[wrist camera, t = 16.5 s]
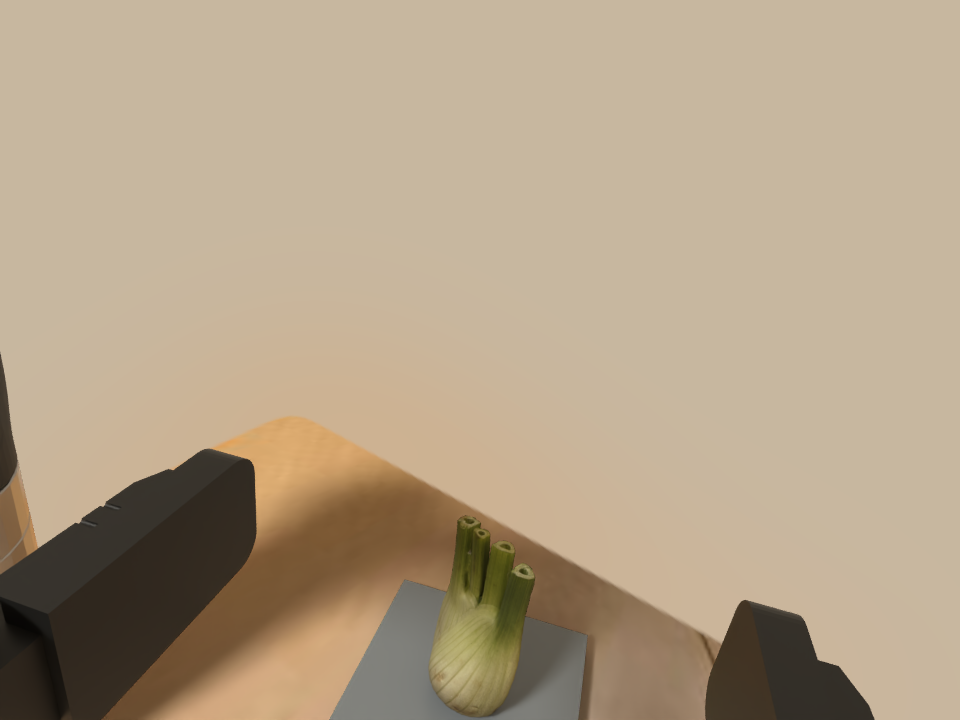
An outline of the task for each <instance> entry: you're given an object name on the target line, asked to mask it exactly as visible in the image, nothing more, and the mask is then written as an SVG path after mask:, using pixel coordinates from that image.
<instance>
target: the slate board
mask: <svg viewBox="0 0 960 720" xmlns="http://www.w3.org/2000/svg"><path fill="white" fill-rule="evenodd" d="M446 593H447V592H444V591H441V590H438V589H434V588H431V587H428V586H425V585H421V584H418V583H415V582H411V581H408V580H404V582H403V583H402V585H401V587H400V589H399V591H398V593H397V595H396V596H395V598H394V600H393V602H392V604H391V606H390V608H389V609H388V611H387V613H386V615H385V617H384V619H383V621H382V622H381V624H380V626H379V628H378V630H377V632H376V634H375V636H374V637H373V639H372V641H371V643H370V645H369V647H368V649H367V650H366V652H365V654H364V656H363V658H362V660H361V662H360V663H359V665H358V667H357V669H356V671H355V673H354V675H353V676H352V678H351V680H350V682H349V684H348V686H347V688H346V690H345V691H344V693H343V695H342V697H341V699H340V701H339V703H338V704H337V706H336V708H335V710H334V712H333V714H332V716H331V717H330V719H329V720H578V717H579V709H580V700H581V691H582V682H583V673H584V664H585V655H586V646H587V637H588V635H585V634H582V633H579V632H576V631H572V630H569V629H566V628H562V627H559V626H556V625H553V624H549V623H546V622H543V621H539V620H536V619H533V618H530V617H526V616H525V621H524V627H523V634H522V641H521V650H520V657H519V662H518V667H517V670H516V673H515V678H514V681H513V683H512V685H511V688H510V690H509V694H508V696H507V697H506V700H505V701H504V703H503V704H502V705H501V706H500V707H499V708H498V709H496V711H495V712H494V713H493V714H491V715H489V716H486V717H468V716H465V715H461V714H459V713H457V712H455V711H453V710H451V709H450V708H449V707H447V706H446V705H445V704H444V703H443V702H442V701H441V700H440V698H439V697H438V696H437V694H436V693H435V691H434V690H433V688H432V685H431V682H430V679H429V671H428V666H429V660H430V656H431V651H432V646H433V639H434V634H435V630H436V626H437V621H438V617H439V613H440V609H441V606H442V602H443V599H444V597H445V595H446Z"/></svg>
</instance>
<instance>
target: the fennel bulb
mask: <svg viewBox="0 0 960 720" xmlns="http://www.w3.org/2000/svg"><path fill="white" fill-rule="evenodd" d="M457 524H458V525H457V536H456V548H455V557H454V564H453V569H452V576H451V581H450V584H449V587H448V590H447V593H446V595H445V597H444V599H443V602H442V606H441V609H440V613H439V617H438V621H437V626H436V630H435V634H434V639H433V646H432V651H431V656H430V660H429V666H428V671H429V679H430V682H431V685H432V688H433V690H434V691H435V693H436V694H437V696H438V697H439V698H440V700H441V701H442V702H443V703H444V704H445V705H446V706H447V707H449V708H450V709H451V710H453V711H455V712H457V713H459V714H461V715H465V716H468V717H486V716H489V715H491V714H493V713H494V712H495V711H496V709H498V708H499V707H500V706H501V705H502V704H503V703H504V701H505V700H506V697H507V696H508V694H509V690H510V688H511V685H512V683H513V681H514V678H515V673H516V670H517V667H518V662H519V657H520V650H521V641H522V634H523V627H524V621H525V615H526V612H527V608H528V604H529V601H530V595H531V592H532V590H533V586H534V581H535V575H534V573H533V571H532V568H531V567H530V566H528V565H527V564H524V563H521V564H519V565H517V566H516V567H515V568H514V569H513V562H514V557H515V548H514V546H513V545H512V543H510V542H507V541H499V542H497V543H494V544H492V547H491V552H490V533H489V531H487V530H485V529H481V528H480V526H481V523H480V522H479V521H478V520H476V518H474V517H470V516H466V515H465V516H463V517H461V518H460V519H459V520H458V522H457ZM489 552H490V554H489ZM489 555H490V558H489ZM512 569H513V570H512Z"/></svg>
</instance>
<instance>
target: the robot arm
mask: <svg viewBox="0 0 960 720" xmlns="http://www.w3.org/2000/svg"><path fill="white" fill-rule="evenodd" d="M255 539H256V499H255V471H254V466H253V464H252V462H251V461H250V460H248V459H245V458H241V457H238V456H234V455H230V454H227V453H223V452H220V451H216V450H213V449H204V450H202V451H200V452H198V453H197V454H195V455H194V456H193V457H191V458H190V459H188V460H187V461H186V462H184V463H183V464H181V465H180V466H179V467H177V468H176V469H174V470H170V469H168V470H165V471H162V472H160V473H157V474H155V475H152V476H150V477H147V478H145V479H142V480H139V481H137V482H134V483H133V484H131V485H130V486H129V487H127V488H125V489H124V490H123V491H121V492H120V493H119V494H117V495H115V496H114V497H113V498H111V499H109V500H108V501H107V502H106V504H105V506H104V507H101V506H99V507H98V508H96V509H95V510H94V511H92V512H91V513H89V514H88V515H86V516H85V517H83V518H82V520H81V522H80V523H79V524H78V523H74V524H73V525H72V526H70V527H69V528H67V529H66V530H64V531H63V532H62V533H60V534H58V535H57V536H56V537H54V538H53V539H52V540H50V541H48V542H47V543H46V544H44V545H42V546H41V547H40V548H38V547H37V542H36V538H35V533H34V528H33V524H32V519H31V515H30V512H29V507H28V503H27V498H26V494H25V489H24V485H23V480H22V476H21V471H20V467H19V462H18V460H17V454H16V450H15V445H14V441H13V436H12V431H11V423H10V414H9V405H8V395H7V388H6V381H5V375H4V369H3V365H2V359H1V354H0V720H101V719H102V718H103V717H104V716H105V715H106V714H107V713H108V712H109V711H110V709H111V708H112V707H113V706H114V705H115V704H116V703H117V702H118V701H119V700H120V699H121V698H122V697H123V695H124V694H125V693H126V692H127V691H128V690H129V689H130V688H131V687H132V686H133V685H134V684H135V682H136V681H137V680H138V679H139V678H140V677H141V676H142V675H143V674H144V673H145V672H146V671H147V669H148V668H149V667H150V666H151V665H152V664H153V663H154V662H155V661H156V660H157V659H158V658H159V657H160V655H161V654H162V653H163V652H164V651H165V650H166V649H167V648H168V647H169V646H170V645H171V644H172V642H173V641H174V640H175V639H176V638H177V637H178V636H179V635H180V634H181V633H182V632H183V631H184V630H185V628H186V627H187V626H188V625H189V624H190V623H191V622H192V621H193V620H194V619H195V618H196V617H197V615H198V614H199V613H200V612H201V611H202V610H203V609H204V608H205V607H206V606H207V605H208V604H209V602H210V601H211V600H212V599H213V598H214V597H215V596H216V595H217V594H218V593H219V592H220V591H221V590H222V588H223V587H224V586H225V585H226V584H227V583H228V582H229V581H230V580H231V579H232V578H233V577H234V575H235V574H236V573H237V572H238V571H239V570H240V569H241V568H242V567H243V565H244V564H245V562H246V561H247V559H248V557H249V555H250V553H251V551H252V549H253V546H254V543H255ZM705 716H706V720H874V717H873V715H872V712H871V710H870V707H869V705H868V704H867V702H866V701H865V700H864V698H863V697H862V696H861V695H860V693H859V692H858V691H857V690H856V688H855V687H854V685H853V684H852V683H851V682H850V680H849V679H848V678H847V676H846V675H845V674H844V672H843V671H842V670H841V668H840V667H839V666H836V665H833V664H829V663H826V662H822V661H819V660H817V657H816V653H815V650H814V647H813V644H812V641H811V638H810V635H809V632H808V629H807V626H806V624H805V621H804V620H803V618H802V617H801V616H799V615H797V614H794V613H790V612H786V611H783V610H779V609H776V608H772V607H769V606H765V605H762V604H758V603H754V602H751V601H747V600H744V601H742V602H741V603H740V604H739V605H738V607H737V609H736V611H735V614H734V617H733V619H732V621H731V624H730V626H729V628H728V631H727V633H726V636H725V638H724V641H723V643H722V646H721V648H720V651H719V653H718V656H717V658H716V661H715V663H714V665H713V668H712V671H711V673H710V677H709V681H708V686H707V693H706V705H705Z"/></svg>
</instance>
